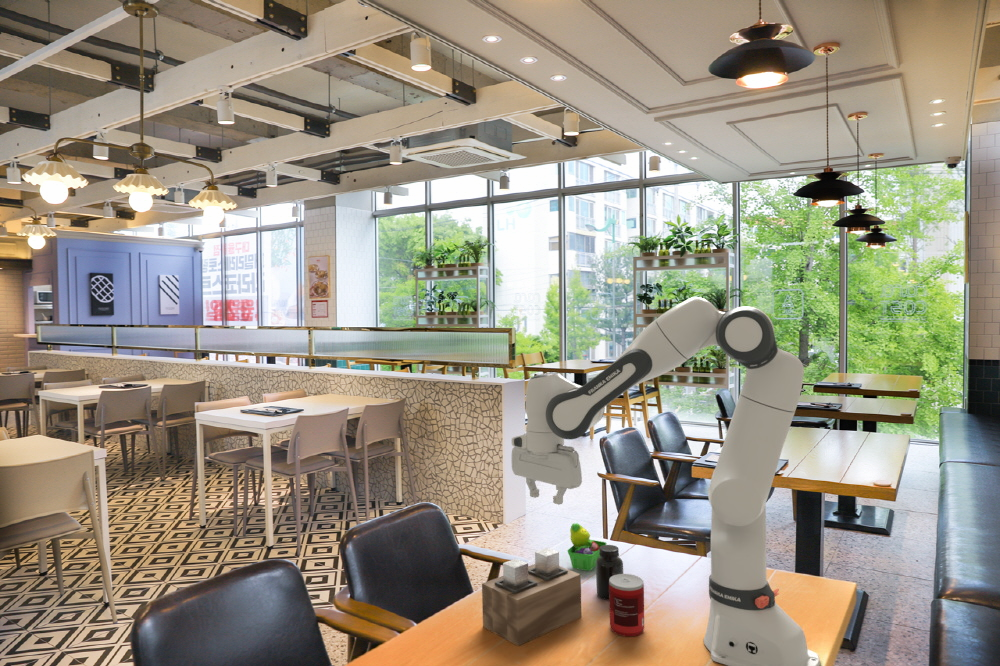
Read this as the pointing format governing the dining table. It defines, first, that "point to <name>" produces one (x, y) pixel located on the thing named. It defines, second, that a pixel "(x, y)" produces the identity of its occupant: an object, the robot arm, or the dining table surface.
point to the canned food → (626, 604)
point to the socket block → (531, 605)
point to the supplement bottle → (607, 568)
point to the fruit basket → (583, 548)
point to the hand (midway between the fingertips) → (546, 500)
